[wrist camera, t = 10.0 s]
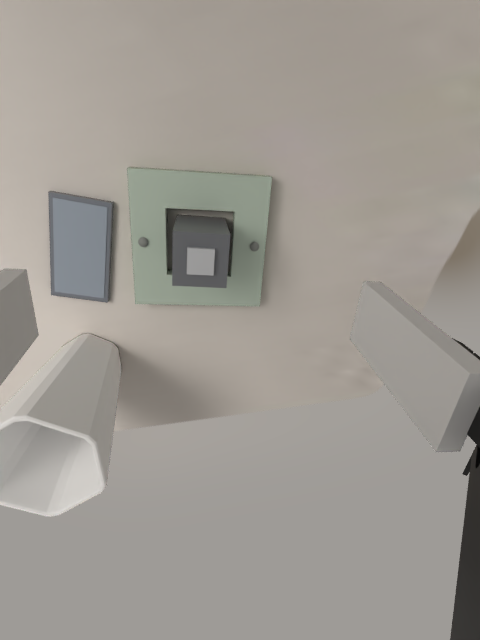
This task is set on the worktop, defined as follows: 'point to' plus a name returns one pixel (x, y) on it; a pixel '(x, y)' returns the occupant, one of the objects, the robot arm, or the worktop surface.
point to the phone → (80, 246)
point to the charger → (200, 251)
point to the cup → (61, 429)
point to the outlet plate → (199, 194)
